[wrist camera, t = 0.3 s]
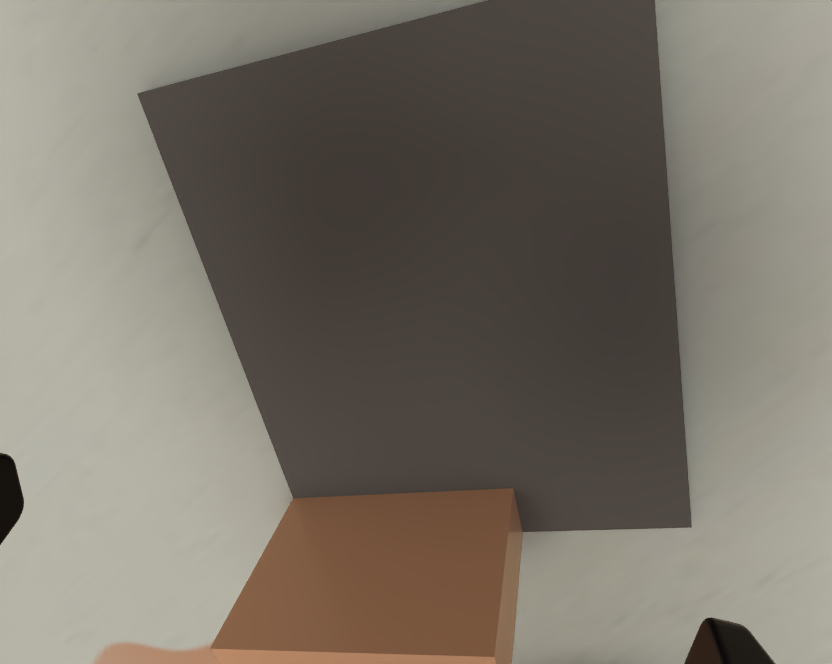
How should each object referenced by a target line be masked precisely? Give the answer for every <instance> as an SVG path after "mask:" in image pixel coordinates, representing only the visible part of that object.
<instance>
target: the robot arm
mask: <svg viewBox="0 0 832 664" xmlns="http://www.w3.org/2000/svg"><path fill="white" fill-rule="evenodd" d="M23 507H24V498H23V494H22V490H21V486H20V482H19V478H18V474H17V469H16V465H15V462H14V460H13V459H12V458H11V457H10V456H9V455H7V454H3V453H0V545H1V543H2V542H3V540H4V539H5V538H6V536H7V535H8V534H9V532H10V531H11V529H12V528H13V527H14V525H15V524H16V522H17V521H18V519H19V518H20V516H21V513H22V510H23ZM685 664H775V663H774V661H773V660H772V659H771V658H770V656H769V655H768V654H767V653H766V651H765V650H764V649H763V648H762V646H761V645H760V644H759V642H758V641H757V640H756V639H755V637H754V636H753V635H752V634H751V632H750V631H749V630H748V629H747V628H745V627H744V626H743V625H740V624H737V623H733V622H729V621H724V620H720V619H716V618H707V619H705V620H704V621H703V622H702V624H701V626H700V628H699V630H698V633H697V635H696V637H695V640H694V642H693V644H692V647H691V649H690V651H689V654H688V656H687V658H686V661H685Z"/></svg>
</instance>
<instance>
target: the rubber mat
mask: <svg viewBox="0 0 832 664" xmlns="http://www.w3.org/2000/svg"><path fill="white" fill-rule="evenodd" d="M138 96H139V99H140V102H141V104H142V107H143V109H144V112H145V115H146V117H147V120H148V122H149V125H150V128H151V130H152V133H153V135H154V138H155V141H156V143H157V146H158V148H159V151H160V154H161V156H162V159H163V161H164V164H165V167H166V169H167V172H168V174H169V177H170V179H171V182H172V185H173V187H174V190H175V192H176V195H177V198H178V200H179V203H180V205H181V208H182V211H183V213H184V216H185V218H186V221H187V224H188V226H189V229H190V231H191V234H192V237H193V239H194V242H195V244H196V247H197V250H198V252H199V255H200V257H201V260H202V263H203V265H204V268H205V270H206V273H207V275H208V278H209V281H210V283H211V286H212V288H213V291H214V294H215V296H216V299H217V301H218V304H219V307H220V309H221V312H222V314H223V317H224V320H225V322H226V325H227V327H228V330H229V333H230V335H231V338H232V340H233V343H234V346H235V348H236V351H237V353H238V356H239V359H240V361H241V364H242V366H243V369H244V372H245V374H246V377H247V379H248V382H249V384H250V387H251V390H252V392H253V395H254V397H255V400H256V403H257V405H258V408H259V410H260V413H261V416H262V418H263V421H264V423H265V426H266V429H267V431H268V434H269V436H270V439H271V442H272V444H273V447H274V449H275V452H276V455H277V457H278V460H279V462H280V465H281V468H282V470H283V473H284V475H285V478H286V480H287V483H288V486H289V488H290V491H291V493H292V496H293V498H311V497H333V496H355V495H376V494H398V493H420V492H442V491H464V490H485V489H507V488H513V490H514V494H515V499H516V504H517V509H518V513H519V518H520V523H521V528H522V532H535V531H573V530H611V529H649V528H687V527H692V526H691V512H690V498H689V484H688V470H687V455H686V441H685V427H684V413H683V398H682V384H681V370H680V356H679V341H678V327H677V313H676V299H675V285H674V270H673V256H672V242H671V228H670V213H669V199H668V185H667V171H666V157H665V142H664V128H663V114H662V100H661V85H660V71H659V57H658V43H657V28H656V14H655V0H488V1H485V2H481V3H477V4H473V5H469V6H466V7H462V8H458V9H454V10H451V11H447V12H443V13H439V14H436V15H432V16H428V17H424V18H420V19H417V20H413V21H409V22H405V23H402V24H398V25H394V26H390V27H386V28H383V29H379V30H375V31H371V32H368V33H364V34H360V35H356V36H353V37H349V38H345V39H341V40H337V41H334V42H330V43H326V44H322V45H319V46H315V47H311V48H307V49H304V50H300V51H296V52H292V53H288V54H285V55H281V56H277V57H273V58H270V59H266V60H262V61H258V62H254V63H251V64H247V65H243V66H239V67H236V68H232V69H228V70H224V71H221V72H217V73H213V74H209V75H205V76H202V77H198V78H194V79H190V80H187V81H183V82H179V83H175V84H171V85H168V86H164V87H160V88H156V89H153V90H149V91H145V92H141V93H138Z"/></svg>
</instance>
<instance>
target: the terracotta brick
mask: <svg viewBox="0 0 832 664" xmlns="http://www.w3.org/2000/svg"><path fill="white" fill-rule="evenodd" d="M522 537H523V533H522V528H521V523H520V518H519V513H518V509H517V504H516V499H515V494H514V490H513V488H507V489H485V490H464V491H442V492H420V493H398V494H376V495H355V496H333V497H311V498H293V500H292V502H291V503H290V505H289V507H288V509H287V511H286V512H285V514H284V516H283V518H282V520H281V521H280V523H279V525H278V527H277V529H276V531H275V532H274V534H273V536H272V538H271V540H270V541H269V543H268V545H267V547H266V549H265V550H264V552H263V554H262V556H261V558H260V559H259V561H258V563H257V565H256V567H255V568H254V570H253V572H252V574H251V576H250V577H249V579H248V581H247V583H246V585H245V586H244V588H243V590H242V592H241V594H240V595H239V597H238V599H237V601H236V603H235V604H234V606H233V608H232V610H231V612H230V613H229V615H228V617H227V619H226V621H225V622H224V624H223V626H222V628H221V630H220V631H219V633H218V635H217V637H216V639H215V640H214V642H213V644H212V646H211V648H210V650H211V652H212V654H213V656H214V658H215V660H216V662H217V663H218V664H512V656H513V644H514V632H515V620H516V608H517V596H518V584H519V573H520V561H521V549H522Z"/></svg>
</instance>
